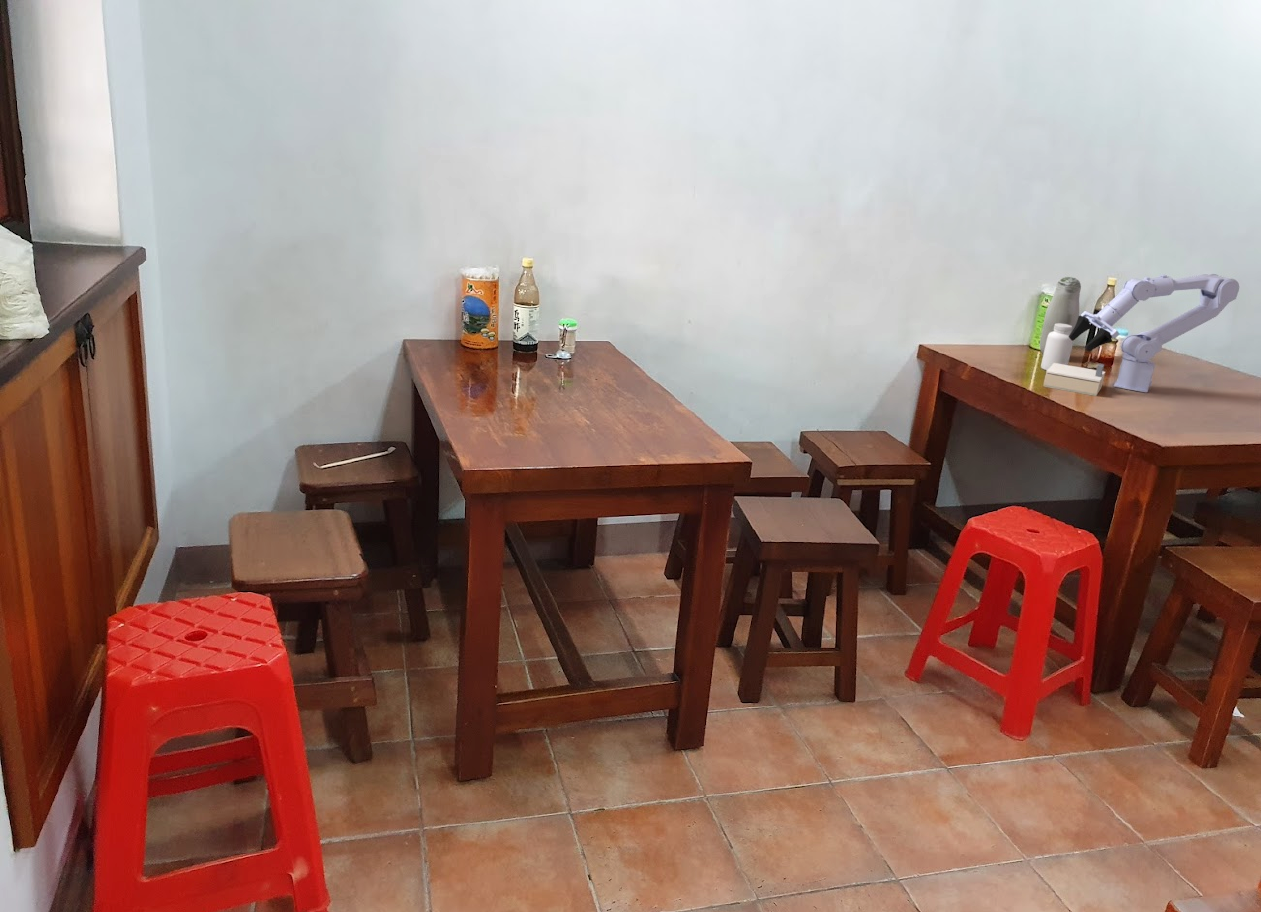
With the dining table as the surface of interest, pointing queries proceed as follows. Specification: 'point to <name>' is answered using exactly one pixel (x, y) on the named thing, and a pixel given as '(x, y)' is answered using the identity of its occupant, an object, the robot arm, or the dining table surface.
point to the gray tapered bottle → (1062, 307)
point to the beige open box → (1073, 384)
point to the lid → (1077, 372)
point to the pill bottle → (1057, 346)
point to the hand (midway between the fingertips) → (1078, 344)
